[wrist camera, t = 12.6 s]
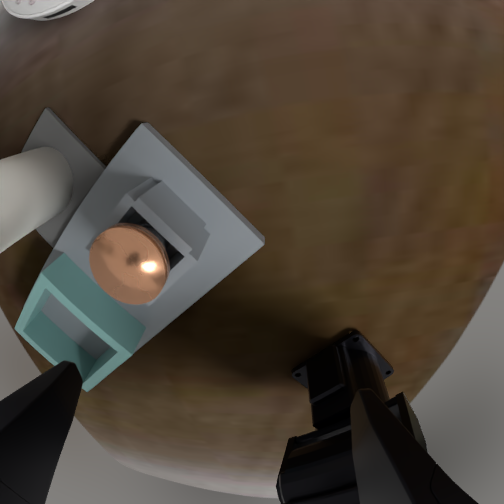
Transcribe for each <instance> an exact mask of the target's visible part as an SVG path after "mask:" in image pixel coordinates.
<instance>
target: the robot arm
mask: <svg viewBox="0 0 504 504" xmlns="http://www.w3.org/2000/svg"><path fill="white" fill-rule="evenodd" d="M354 337H357V338H354ZM393 372H394V370H393V367H392V366H391V365H390V364H389V363H388V361H387V360H386V359H385V358H384V357H383V356H382V355H381V354H380V353H379V352H378V351H377V350H376V349H375V347H374V346H373V345H372V344H371V343H370V342H369V341H368V340H367V339H366V338H365V337H364V336H363V335H362V334H361V333H360V332H359V331H353V332H351V333H350V334H348V335H347V336H345V337H344V338H342V339H340V340H339V341H337V342H336V343H334V344H333V345H331V346H330V347H328V348H327V349H325V350H323V351H322V352H320V353H319V354H317V355H315V356H314V357H312V358H311V359H309V360H307V361H306V362H304V363H302V364H301V365H299V366H297V367H296V368H294V369H293V370H292V377H293V378H294V379H296V380H297V381H298V382H300V383H301V384H302V385H304V386H305V387H306V388H308V391H309V402H310V403H311V411H312V423H313V427H315V430H316V431H313V432H310V433H307V434H304V435H301V436H298V437H297V436H295V437H292V438H289V439H288V443H287V447H286V450H285V454H284V458H283V461H282V464H281V468H280V471H279V475H278V479H277V484H276V489H277V493H278V497H279V500H280V502H281V504H478V503H477V502H476V501H475V500H474V499H472V498H471V497H470V496H469V495H468V494H467V493H466V492H464V491H463V490H462V489H461V488H460V487H459V486H458V485H457V484H455V482H454V481H453V480H452V479H451V478H450V477H449V476H448V475H447V474H446V473H445V472H444V471H443V470H442V469H441V467H440V466H439V465H438V464H436V462H435V461H434V460H433V458H432V457H431V456H430V455H429V454H428V451H427V444H426V440H425V437H424V435H423V432H422V429H421V426H420V424H419V421H418V418H417V416H416V414H415V413H414V411H413V409H412V407H411V405H410V404H409V402H408V400H407V398H406V396H405V395H404V393H403V392H401V393H399V394H397V395H396V397H394V398H392V399H389V395H388V392H387V389H386V386H385V383H384V379H385V378H387V377H389V376H390V375H392V374H393ZM82 385H83V379H82V376H81V374H80V372H79V370H78V368H77V365H76V364H75V363H74V362H71V361H67V360H64V361H62V362H60V363H59V364H57V365H55V366H54V367H52V368H51V369H49V370H48V371H46V372H44V373H43V374H41V375H40V376H38V377H37V378H35V379H34V380H32V381H30V382H29V383H28V384H26V385H24V386H23V387H21V388H20V389H18V390H17V391H15V392H13V393H12V394H10V395H9V396H7V397H6V398H4V399H3V400H1V401H0V504H45V501H46V498H47V495H48V492H49V488H50V485H51V482H52V478H53V475H54V472H55V469H56V466H57V463H58V460H59V457H60V454H61V451H62V449H63V446H64V443H65V440H66V437H67V435H68V432H69V429H70V427H71V424H72V421H73V418H74V414H75V410H76V406H77V403H78V399H79V396H80V392H81V389H82Z"/></svg>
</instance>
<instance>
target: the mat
mask: <svg viewBox="0 0 504 504" xmlns="http://www.w3.org/2000/svg"><path fill="white" fill-rule="evenodd" d="M40 147H52V148H54V149H56V150H58V151H59V152H60V153H61V154H62V155H63V156H64V157H65V158H66V160H67V162H68V164H69V166H70V168H71V171H72V175H73V194H72V198H71V200H70V203H69V204H68V206H67V207H66V209H65V210H64V211H62V212H61V213H59V214H58V215H56V216H55V217H53V218H51V219H50V220H48V221H47V222H45V223H44V224H42V225H40V226H39V227H37V228H36V230H37V231H38V233H39V234H40V235H41V236H42V237H43V238H44V239H45V240H46V241H47V242H48V243H49V244H50V245H51V246H52V248H54V247H55V245H56V243H57V242H58V240H59V238H60V236H61V235H62V233H63V231H64V230H65V228H66V227H67V225H68V223H69V222H70V220H71V218H72V217H73V215H74V214H75V212H76V211H77V209H78V208H79V206H80V205H81V203H82V202H83V200H84V199H85V197H86V196H87V194H88V193H89V191H90V190H91V188H92V187H93V185H94V184H95V183H96V181H97V180H98V178H99V177H100V176H101V174H102V173H103V171H104V170H105V169H106V166H105V165H104V164H103V163H102V162H101V161H100V160H99V159H98V158H97V157H96V156H95V155H94V154H93V153H92V152H91V151H90V150H89V149H88V148H87V147H86V146H85V145H84V144H83V143H82V142H81V141H80V140H79V139H78V138H77V136H76V135H75V134H74V133H73V132H72V131H71V130H70V129H69V128H68V127H67V126H66V125H65V124H64V123H63V122H62V121H61V120H60V119H59V118H58V117H57V116H56V114H55V113H54V112H53V111H52V110H51V109H50V108H45V110H44V111H43V113H42V115H41V116H40V118H39V120H38V122H37V123H36V125H35V127H34V129H33V131H32V132H31V134H30V136H29V138H28V140H27V142H26V144H25V146H24V148H23V150H22V152H21V153H23V152H26V151H30V150H33V149H37V148H40Z"/></svg>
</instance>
